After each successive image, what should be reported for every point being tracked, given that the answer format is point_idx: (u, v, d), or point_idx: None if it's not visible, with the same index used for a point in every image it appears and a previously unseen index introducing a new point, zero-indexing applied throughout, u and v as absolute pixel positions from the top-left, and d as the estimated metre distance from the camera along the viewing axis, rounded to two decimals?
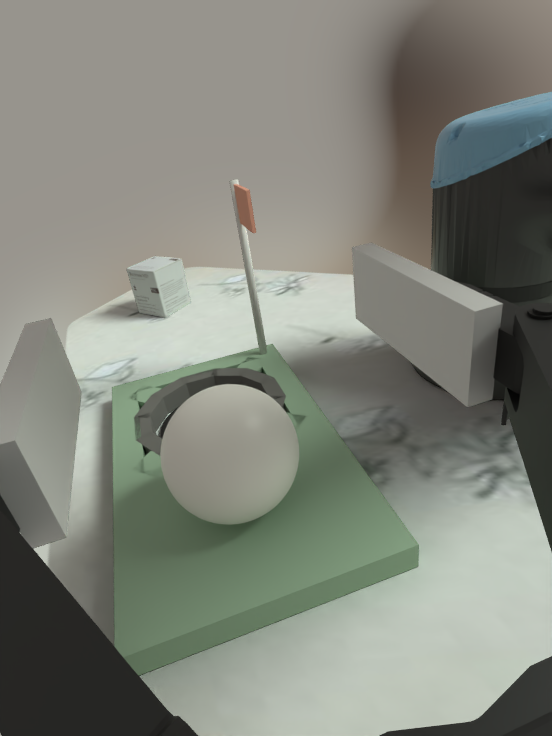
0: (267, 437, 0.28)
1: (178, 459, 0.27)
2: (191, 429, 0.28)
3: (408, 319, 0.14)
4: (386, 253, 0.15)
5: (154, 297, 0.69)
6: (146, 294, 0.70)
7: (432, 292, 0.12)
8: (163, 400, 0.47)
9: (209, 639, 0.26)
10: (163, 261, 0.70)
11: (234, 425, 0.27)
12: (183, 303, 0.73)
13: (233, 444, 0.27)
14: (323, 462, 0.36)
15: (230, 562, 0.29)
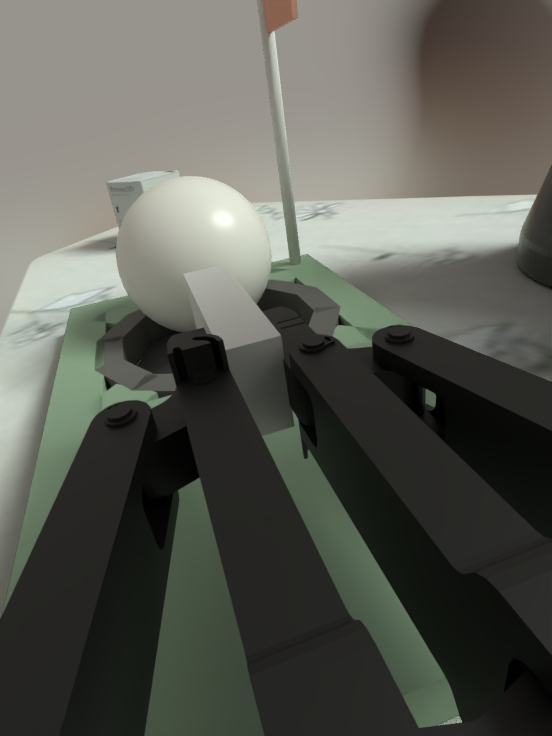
0: None
1: None
2: None
3: None
4: (227, 277, 0.15)
5: None
6: None
7: None
8: (146, 321, 0.30)
9: None
10: (154, 173, 0.53)
11: None
12: None
13: None
14: None
15: None
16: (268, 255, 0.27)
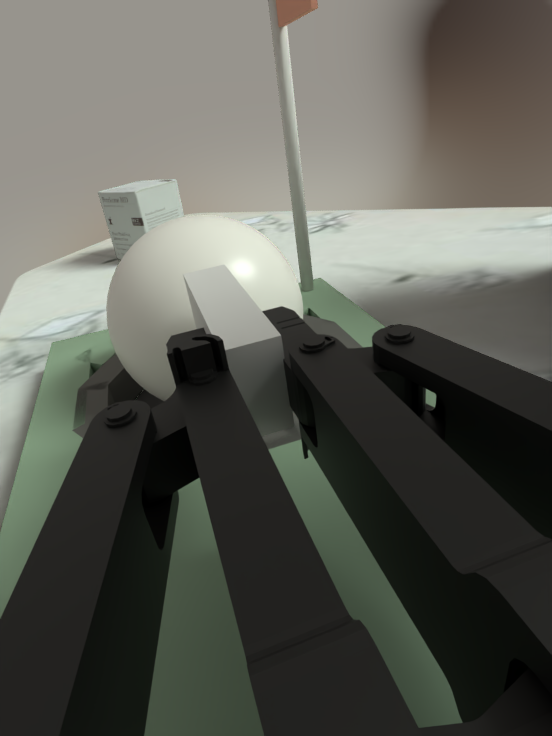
0: None
1: None
2: None
3: None
4: (227, 276, 0.15)
5: (137, 233, 0.49)
6: (126, 229, 0.49)
7: None
8: None
9: None
10: (150, 182, 0.49)
11: None
12: None
13: None
14: None
15: None
16: None
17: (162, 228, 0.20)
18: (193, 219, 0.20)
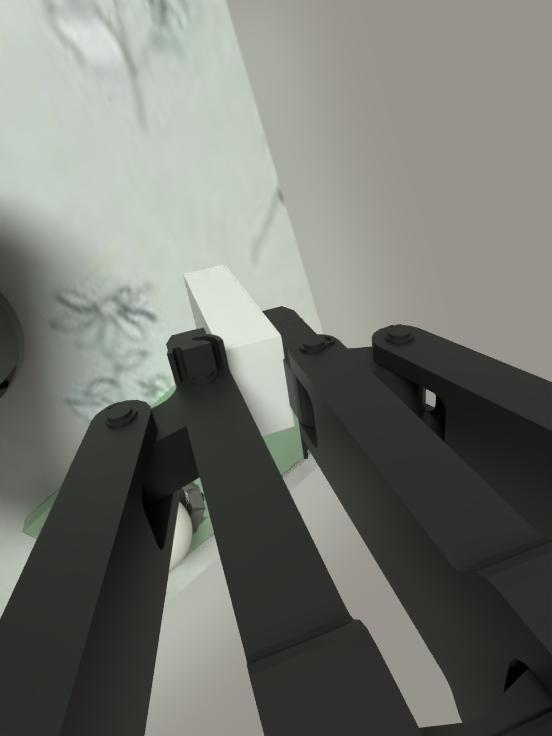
0: None
1: None
2: None
3: None
4: (227, 276, 0.15)
5: None
6: None
7: None
8: None
9: None
10: None
11: None
12: None
13: None
14: None
15: None
16: None
17: (172, 561, 0.50)
18: None
